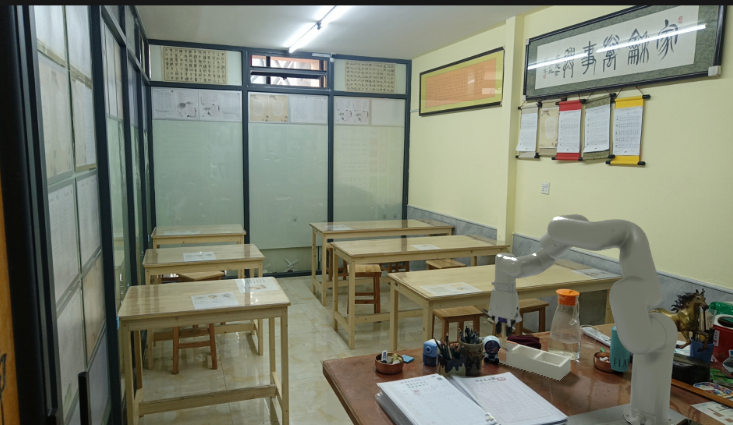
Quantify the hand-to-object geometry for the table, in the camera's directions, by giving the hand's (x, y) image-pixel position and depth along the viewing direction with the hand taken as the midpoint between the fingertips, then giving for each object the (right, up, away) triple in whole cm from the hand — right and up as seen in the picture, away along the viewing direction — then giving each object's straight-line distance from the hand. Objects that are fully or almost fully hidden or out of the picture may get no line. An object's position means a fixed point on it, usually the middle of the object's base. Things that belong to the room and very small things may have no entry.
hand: (503, 334), depth 179 cm
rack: (+7, -10, -5) cm, 13 cm away
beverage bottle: (+37, -11, -11) cm, 40 cm away
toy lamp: (0, -8, +1) cm, 8 cm away
